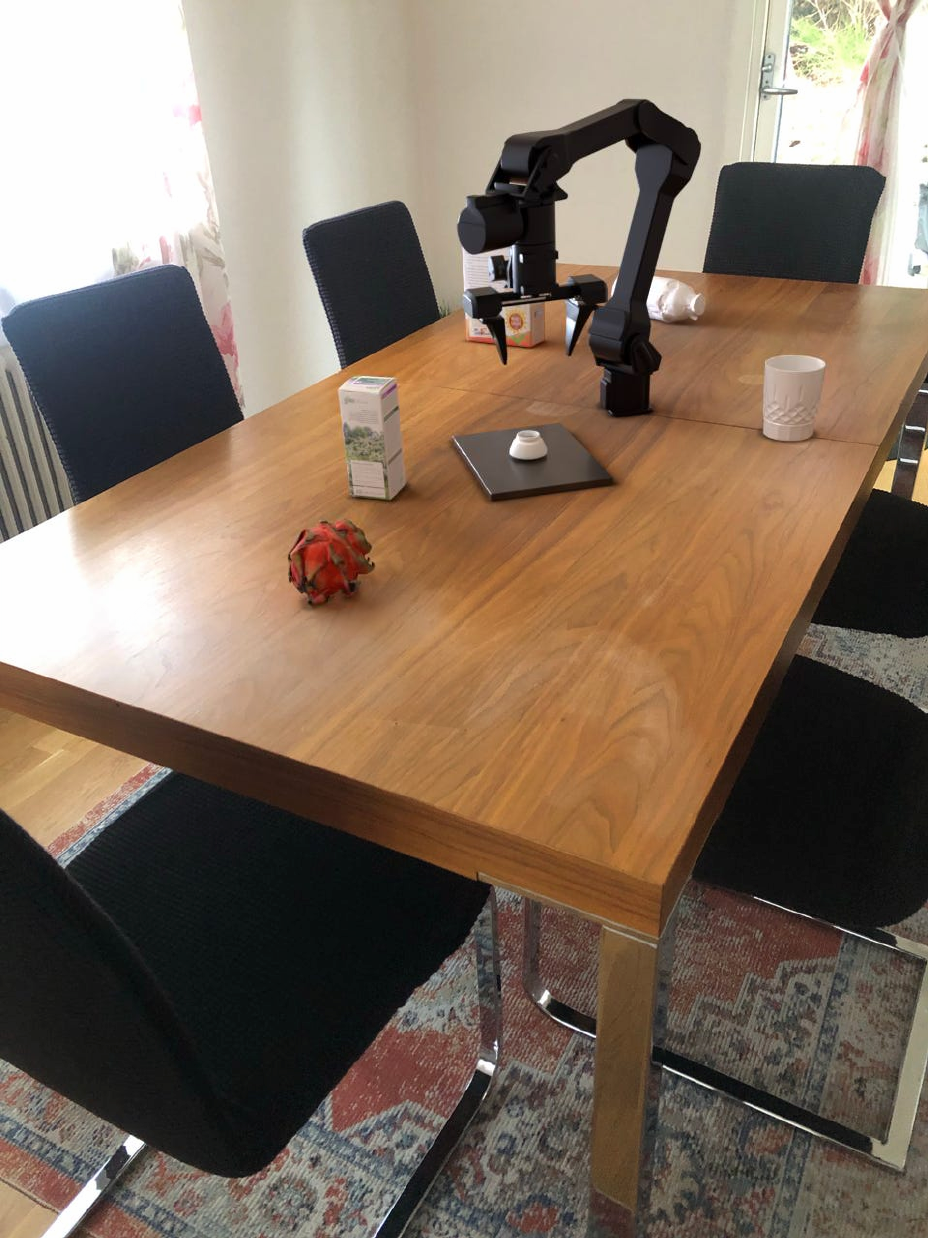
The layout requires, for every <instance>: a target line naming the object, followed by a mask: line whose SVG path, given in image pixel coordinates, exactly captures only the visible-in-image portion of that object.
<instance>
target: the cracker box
mask: <svg viewBox="0 0 928 1238" xmlns="http://www.w3.org/2000/svg"><path fill="white" fill-rule="evenodd" d="M461 247H462V265H463V266H462V268H463V270H462V271H463V289H464V291H463V292H465V291H466V289H472V288H480V287H489V286H491V287H492V288H494V289H495V290H496V291H497V292H499V293H501V292H509V291H513V288H504V286H503V281H495V282H491V281H490V277H489V264H488V258H489V257H490V256H498V255H503V256H504V259H505V260H509V258H510V253H509V252H510V247H507V248H503V249H498V250H494V251H490V252H485V253H481V254H476V255H471V254H469V253H468V252H467V251H466V250H465V249H464V248H463V246H462V245H461ZM511 247H512V246H511ZM543 295H546V294H542V295H541V296H543ZM526 297H531V296H521V298H526ZM464 313H465V333H466V340H467V341H469V342H477V343H487V344H495V343H494V340H493V338H492V335H491V333H490V331H489V329H488V327H487V326H486V325H484V324H482V323H481V322H480V321H479V320H477V319H472V318H471V317H470V316H469V315H468V314H467V313H466V312H465V311H464ZM500 315H501V316H502V317H503V318H504V319H505V329H506V342H507V346H511V347H512V346H513V347H521V348H532V347H534V346H537V345H538V344H540V343H542V342H544V341H546V302H540V303H532V304H525V305H517V306H509V307H502V311H501V312H500Z"/></svg>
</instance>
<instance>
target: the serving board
mask: <svg viewBox="0 0 928 1238" xmlns="http://www.w3.org/2000/svg"><path fill="white" fill-rule="evenodd" d="M522 431H536V432H538V433H539V434H540V437H541V438H542V439H543V441H544V443H545V445H546V447H547V454H546V455H545V456H543V457H541V458H538V459H533V460H522V459H518V458H515V457H513V456H511V454H510V448H511V446H512V444H513V442H514V439H516V438H517V434H518V433H519V432H522ZM452 444H453V445H454V447H455V449H456V450H457V451H458V452H459V454H460V455H461V457H462V458H463V460H464V462H465V463H466V465H467V467H468V468H469V470H470V471H471V472H472V474H473V475H474V477H475V478H476V480H477V482H478V483H479V485H480V486H481V488H482V490H483V491H484V492H485V494H486V495H487V497H488V499H489V500H490V502H496V501H504V500H511V499H519V498H526V497H532V496H540V495H547V494H554V493H560V492H561V493H562V492H568V491H569V492H570V491H576V490H583V489H591V488H598V487H606V486H612V485H613V484H614V483H613V482H614V477H613V476H612V475H611V474H610V472H608V471H607V470H606V469H605V467H603V466H602V464H601V463H600V462H599V461H598V460H597V459H596V458H595V457H594V456H593V455H592V454H591V453H590V452H589V451H588V450H587V449H586V448H585V447H584V446H583V445H582V443H580V442H579V440H577V439H576V437H574V435H573V434H571V432H570V431H569V430H568V429H567V428H566V427H565V426H564V425H563V424H562V423H561V422H554V423H546V424H539V425H531V426H523V427H514V428H507V429H498V430H492V431H484V432H476V433H468V434H459V435H452Z"/></svg>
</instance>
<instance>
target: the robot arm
mask: <svg viewBox="0 0 928 1238" xmlns="http://www.w3.org/2000/svg"><path fill="white" fill-rule="evenodd" d="M622 141H624V144H625V145H626V147H627V148H628V149H629V150H631V151H632V152H633V154H635V162H634V173H635V174H634V175H635V178H636V182H637V187H638V195H637V199H636V204H635V207H634V212H633V214H632V219H631V223H630V226H629V227H630V228H629V230H628V236H627V239H626V243H625V247H624V249H623V250H624V251H623V254H622V257H621V262H620V266H619V270H618V274H617V277H616V278H617V281H616V285H615V289H614V293H613V295H612V297H611V296H610V298H609V288H608V285H607V283H606V281H604V280H603V279H602V278H600V277H598V276H597V275H594V274H593V273H586V274H579V275H570V276H567V279H566V282H565V284H559V282H557V260H559V259H560V258H559V250H557V243H556V242H557V241H556V239H557V238H556V202H560V201H565V200H568V198H569V194H568V192H566V191H565V190H564V189H563V188H561V186H560V185H559V184H558V181H559V180H561V179H562V178H564V177H565V176H566V175H568V174H569V173H570V171H571V170H572V168H573V166H574V164H576V163H577V162H579V161H580V160H581V159H582V160H583V159H584V158H587V157H589V156H591V155H593V154H595V153H597V152H600V151H602V150H604V149H606V148H609V147H612V146H613V145H616V144H617V143H620V142H622ZM701 152H702V142H700V140H699V136H698V133H697V131H696V130H695V129H693V128H692V127H689V126H686V125H685V124H684V123H683V122H681V121H680V120H678V119H677V118H675V117H673V116H671V115H670V114H668V113H666V112H664V111H663V110H661V109H660V108H659V107H658V106H657V105H656V104H655V103H654V102H652V101H651V100H649V99H647V98H623V99H621V100H619V101H617V103H616V102H615V104H613V105H611V106H609V107H606V108H604V109H601V110H599V111H597V112H594V113H592V114H590V115H588V116H585V117H583V118H580V119H578V120H576V121H574V122H570V123H568V124H566V125H564V126H561V127H559V128H555V129H548V130H547V129H546V130H536V131H529V132H528V131H527V132H522V133H515V134H512V135H511V136H509V137H507V139H506V140H505V141H504V143H503V148H502V150H501V155H500V157H499V160H498V162H497V163H496V166H495V168H494V170H493V173H492V174H491V177H490V179H489V181H488V184H487V186H486V188H485V190H484V194H471V195H467V196H466V197H465V205H466V206H465V207H464V208H463V209H462V210H461V211H460V213H459V216H458V222H457V223H456V233H457V237H458V241H459V242H460V245H461V247H462V246H463V248H464V249H465V250H466V251H467V252H468V253H469V254H471V255H476V254H481V253H485V252H490V251H494V250H498V249H503V248H507V247H510V252H509V253H510V258H509V260H505V259H504V256H503V255H498V256H490V257H489V258H488V264H489V277H490V281H491V282H495V281H503V286H504V288H513V291H509V292H501V293H499V292H497V291H496V290H495V289H494V288H492V287H491V286H489V287H480V288H472V289H466V291H465V292H464V291H463V292H464V293H463V295H462V299H461V300H462V311H464V313H465V312H466V313H467V314H468V315H469V316H470V317H471V318H472V319H477V320H479V321H480V322H481V323H482V324H484V325H486V326H487V327H488V329H489V331H490V333H491V335H492V338H493V340H494V343H493V344H494V346H495V349H496V350H497V353H498V356H499V359H500V361H501V364H502V365H503V366H507V365H508V345H507V342H506V329H505V319H504V318H503V317H502V316H501V315H500V312H501V311H502V307H509V306H517V305H525V304H532V303H540V302H545V303H547V302H555V301H562V300H564V305H565V311H566V319H565V320H566V321H565V338H564V339H565V341H564V345H565V347H564V348H565V355H566V356H567V357H571V356H572V354H573V353H574V350H575V348H576V345H577V344H578V343H577V342H579V341H578V340H579V338H580V335H581V333H582V331H583V329H584V327H585V326H586V323H587V322H588V320H589V318H590V316H591V315H592V316H591V317H592V319H591V323H590V325H589V327H588V329H587V331H586V332H587V333H586V334H589V335H588V347H589V348H590V350H591V352H592V355H593V358H594V363H595V365H596V366H597V367H600V368H601V367H602V368H603V377H602V378H601V379H600V380H599V381H600V382H599V385H600V386H599V401H598V402H599V403H598V405H600V407H601V408H602V409H604V410H605V411H606V412H607V413H608V414H609V415H610V416H612V417H623V416H630V415H638V414H646V413H652V412H654V407H653V406H651V405H650V394H651V393H650V392H651V375H654V373H655V372H659V370H660V367H661V363H662V359H663V355H662V354H661V353H660V352H659V351H658V350H657V348H656V347H655V346H654V345H653V344H652V343H651V341H650V336H651V330H652V322H651V318H650V317H649V313H648V309H647V299H648V295H649V292H650V288H651V284H652V280H653V277H654V276H655V272H656V269H657V265H658V263H659V258H660V254H661V250H662V247H663V242H664V239H665V235H666V232H667V228H668V224H669V220H670V217H671V213H672V209H673V205H674V202H675V199H676V198H677V197H678V196H679V194H681V192H682V191H683V189H684V188H685V187H686V186H687V185H689V183H690V181H691V180H692V178H693V175H694V172H695V169H696V167H697V165H698V162H699V159H700V157H701ZM511 246H512V247H511ZM542 294H545V295H543V296H541V295H542ZM521 296H531V297H526V298H521ZM600 304H604V305H600Z"/></svg>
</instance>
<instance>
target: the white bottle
mask: <svg viewBox="0 0 928 1238" xmlns="http://www.w3.org/2000/svg"><path fill="white" fill-rule="evenodd" d="M616 281H617V277H616V278H615V279H614V282H613V284H612V286H611V291H610V298H611V297H612V295H613V293H614V289H615V285H616ZM706 306H707V300H706V298H705V296H703V293H702V292H700V293H698V294H696V292H695V290H694V288H693V287H692V286H690V285H688V284H685V283H684V282H682V281H680V280H678V279H675V278H671V277H670V278H669V277H662V276H657V275H654V277H653V280H652V284H651V288H650V292H649V295H648V299H647V309H648V313H649V317H650V320H651V319H652V320H656V321H661V322H665V323H669V324H670V323H675V322H680V321H685V320H686V319H688V318H690V319H691V320H694V321H697V320H698V318H699V317H698V316H701V315H703V313H705V309H706Z"/></svg>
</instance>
